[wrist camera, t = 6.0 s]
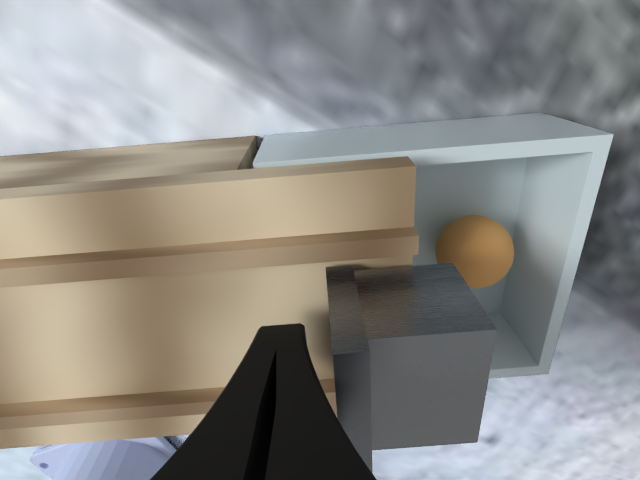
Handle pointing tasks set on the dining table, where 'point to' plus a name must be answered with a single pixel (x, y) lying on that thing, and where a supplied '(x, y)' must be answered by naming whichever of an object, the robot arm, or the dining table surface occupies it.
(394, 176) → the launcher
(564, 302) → the open box
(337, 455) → the robot arm
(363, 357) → the brushed steel stepped cube
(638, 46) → the dining table surface
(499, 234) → the ball
